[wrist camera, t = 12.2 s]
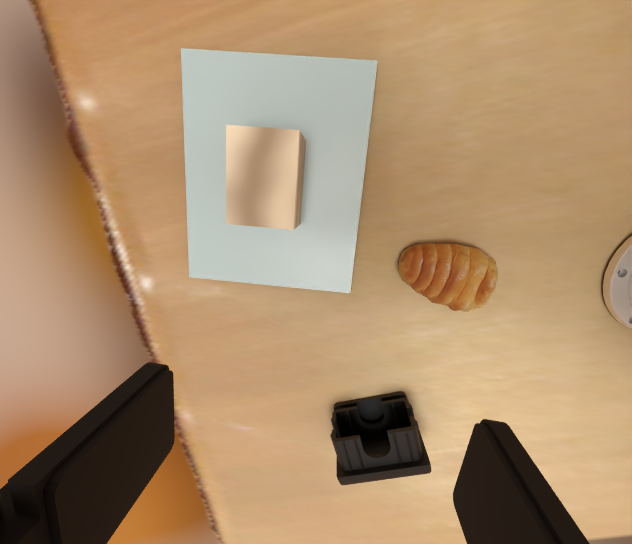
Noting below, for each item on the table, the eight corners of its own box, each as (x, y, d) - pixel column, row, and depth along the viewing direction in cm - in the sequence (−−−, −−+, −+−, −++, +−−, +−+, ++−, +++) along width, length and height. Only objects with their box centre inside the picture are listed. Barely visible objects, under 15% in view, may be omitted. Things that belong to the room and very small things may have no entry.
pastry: (387, 285, 33) (393, 297, 29) (408, 227, 31) (418, 231, 27) (467, 309, 33) (483, 324, 29) (493, 252, 31) (514, 260, 27)
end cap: (342, 448, 39) (343, 499, 32) (329, 403, 37) (327, 448, 31) (418, 436, 38) (435, 487, 31) (408, 389, 36) (423, 433, 29)
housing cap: (306, 140, 28) (299, 130, 24) (300, 223, 30) (293, 230, 26) (244, 136, 29) (225, 124, 24) (243, 218, 31) (226, 224, 26)
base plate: (376, 65, 27) (381, 47, 24) (349, 290, 33) (351, 301, 30) (186, 53, 28) (165, 34, 25) (193, 274, 34) (177, 283, 30)
